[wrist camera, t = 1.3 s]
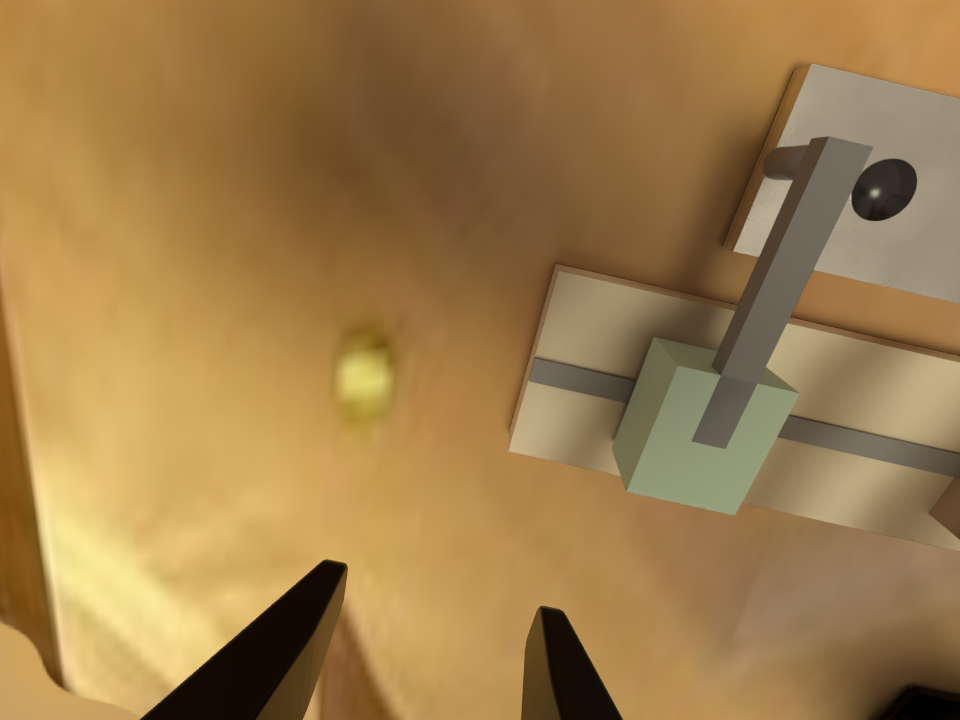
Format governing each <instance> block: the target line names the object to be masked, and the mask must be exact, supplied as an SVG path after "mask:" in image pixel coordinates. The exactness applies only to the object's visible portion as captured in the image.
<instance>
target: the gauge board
mask: <svg viewBox="0 0 960 720" xmlns="http://www.w3.org/2000/svg"><path fill="white" fill-rule="evenodd" d="M737 306H738V305H735V304H730V303H726V302H721V301H717V300H713V299H708V298H704V297H700V296H695V295H691V294H687V293H682V292H678V291H674V290H669V289H665V288H661V287H656V286H652V285H647V284H643V283H639V282H634V281H630V280H626V279H621V278H617V277H613V276H608V275H604V274H600V273H595V272H591V271H587V270H582V269H578V268H573V267H569V266H565V265H560V264H555V268H554V271H553V275H552V278H551V282H550V286H549V289H548V293H547V296H546V300H545V304H544V307H543V311H542V315H541V318H540V322H539V325H538V329H537V333H536V336H535V340H534V344H533V347H532V351H531V354H530V358H529V362H528V365H527V369H526V373H525V376H524V380H523V383H522V387H521V391H520V394H519V398H518V401H517V405H516V409H515V412H514V416H513V420H512V423H511V427H510V430H509V443H508V451H510V452H514V453H519V454H523V455H528V456H532V457H537V458H541V459H546V460H550V461H555V462H559V463H564V464H568V465H573V466H577V467H582V468H586V469H591V470H595V471H600V472H604V473H609V474H613V475H618V476H621V475H620V472H619V469H618V466H617V463H616V460H615V458H614V455H613V452H612V449H611V448H612V446H613V443H614V441H615V438H616V435H617V433H618V430H619V427H620V425H621V422H622V419H623V417H624V414H625V412H626V409H627V406H628V404H629V401H630V398H631V396H632V393H633V390H634V388H635V385H636V383H637V380H638V377H639V375H640V372H641V369H642V367H643V364H644V362H645V359H646V356H647V354H648V351H649V348H650V346H651V343H652V340H653V338H654V337H657V338H661V339H666V340H670V341H674V342H679V343H683V344H687V345H692V346H696V347H701V348H705V349H709V350H714V351H718V349H719V347H720V345H721V342H722V340H723V338H724V336H725V333H726V331H727V329H728V326H729V324H730V322H731V320H732V317H733V315H734V313H735V311H736V308H737ZM766 367H767V368H768V369H769V370H771V371H772V372H773V373H775V374H776V375H777V376H778V377H780V378H781V379H782V380H784V381H785V382H786V383H787V384H789V385H790V386H791V387H793V388H794V389H795V390H796V391H798V392H799V393H800V395H799V396H798V398H797V400H796V402H795V404H794V406H793V408H792V410H791V411H790V413H789V415H788V417H787V419H786V421H785V423H784V425H783V426H782V428H781V430H780V432H779V434H778V436H777V438H776V440H775V441H774V443H773V445H772V447H771V449H770V451H769V453H768V455H767V456H766V458H765V460H764V462H763V464H762V466H761V468H760V470H759V471H758V473H757V475H756V477H755V479H754V481H753V483H752V485H751V486H750V488H749V490H748V492H747V494H746V496H745V498H744V500H743V501H742V503H743V504H748V505H752V506H757V507H761V508H766V509H770V510H775V511H779V512H784V513H788V514H793V515H797V516H802V517H806V518H811V519H815V520H820V521H824V522H829V523H833V524H838V525H842V526H847V527H851V528H856V529H860V530H865V531H869V532H874V533H878V534H883V535H887V536H892V537H896V538H901V539H905V540H910V541H914V542H919V543H923V544H928V545H932V546H937V547H941V548H946V549H950V550H955V551H959V552H960V356H957V355H952V354H948V353H944V352H939V351H935V350H930V349H926V348H922V347H917V346H913V345H909V344H904V343H900V342H896V341H891V340H887V339H883V338H878V337H874V336H870V335H865V334H861V333H856V332H852V331H848V330H843V329H839V328H835V327H830V326H826V325H822V324H817V323H813V322H809V321H804V320H800V319H796V318H791V317H790V319H789V321H788V323H787V325H786V327H785V329H784V331H783V333H782V335H781V337H780V339H779V341H778V343H777V345H776V347H775V349H774V351H773V353H772V355H771V357H770V359H769V361H768V363H767V365H766Z"/></svg>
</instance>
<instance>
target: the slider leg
mask: <svg viewBox="0 0 960 720" xmlns="http://www.w3.org/2000/svg"><path fill="white" fill-rule="evenodd" d="M872 149H873V147H872V146H868V145H864V144H860V143H855V142H851V141H847V140H843V139H838V138H834V137H830V136H828V137H819V138H811V140H810V143H809V145H799V146H787V147H779V148H776V149H774V150H772V151H771V152H770V153H769V154H768V155H767V156H766V158H765V160H764V162H763V172H764V174H765V175H766V177H768V178H769V179H772V180H789V181H792V183H791V186H790V188H789V190H788V193H787V195H786V197H785V199H784V202H783V204H782V206H781V208H780V211H779V213H778V215H777V217H776V220H775V222H774V224H773V227H772V229H771V231H770V233H769V236H768V238H767V240H766V242H765V245H764V247H763V249H762V252H761V254H760V256H759V258H758V261H757V263H756V265H755V267H754V270H753V272H752V274H751V277H750V279H749V281H748V283H747V286H746V288H745V290H744V292H743V295H742V297H741V299H740V301H739V304H738V306H737V308H736V311H735V313H734V315H733V317H732V320H731V322H730V324H729V326H728V329H727V331H726V333H725V336H724V338H723V340H722V342H721V345H720V347H719V349H718V351H714V350H709V349H705V348H701V347H696V346H692V345H687V344H683V343H679V342H674V341H670V340H666V339H661V338H657V337H654V338H653V340H652V343H651V346H650V348H649V351H648V354H647V356H646V359H645V362H644V364H643V367H642V369H641V372H640V375H639V377H638V380H637V383H636V385H635V388H634V390H633V393H632V396H631V398H630V401H629V404H628V406H627V409H626V412H625V414H624V417H623V419H622V422H621V425H620V427H619V430H618V433H617V435H616V438H615V441H614V443H613V446H612V448H611V449H612V452H613V455H614V458H615V460H616V463H617V466H618V469H619V472H620V475H621V478H622V481H623V483H624V486H625V489H626V492H630V493H635V494H639V495H644V496H648V497H653V498H657V499H662V500H666V501H671V502H675V503H680V504H684V505H689V506H693V507H698V508H702V509H707V510H711V511H716V512H720V513H725V514H729V515H734V516H735V515H736V513H737V511H738V509H739V507H740V505H741V503H742V501H743V500H744V498H745V496H746V494H747V492H748V490H749V488H750V486H751V485H752V483H753V481H754V479H755V477H756V475H757V473H758V471H759V470H760V468H761V466H762V464H763V462H764V460H765V458H766V456H767V455H768V453H769V451H770V449H771V447H772V445H773V443H774V441H775V440H776V438H777V436H778V434H779V432H780V430H781V428H782V426H783V425H784V423H785V421H786V419H787V417H788V415H789V413H790V411H791V410H792V408H793V406H794V404H795V402H796V400H797V398H798V396H799V395H800V393H799V392H798V391H796V390H795V389H794V388H793V387H791V386H790V385H789V384H787V383H786V382H785V381H784V380H782V379H781V378H780V377H778V376H777V375H776V374H775V373H773V372H772V371H771V370H769V369H768V368H767V367H766V365H767V363H768V361H769V359H770V357H771V355H772V353H773V351H774V349H775V347H776V345H777V343H778V341H779V339H780V337H781V335H782V333H783V331H784V329H785V327H786V325H787V323H788V321H789V319H790V316H791V314H792V312H793V310H794V308H795V306H796V304H797V302H798V300H799V298H800V296H801V294H802V292H803V290H804V288H805V286H806V284H807V282H808V280H809V278H810V276H811V274H812V272H813V270H814V268H815V265H816V263H817V261H818V259H819V257H820V255H821V253H822V251H823V249H824V247H825V245H826V243H827V241H828V239H829V237H830V235H831V233H832V231H833V229H834V227H835V225H836V223H837V221H838V219H839V216H840V214H841V212H842V210H843V208H844V206H845V204H846V202H847V200H848V198H849V196H850V194H851V192H852V190H853V188H854V186H855V184H856V182H857V180H858V178H859V176H860V174H861V172H862V170H863V167H864V165H865V163H866V161H867V159H868V157H869V155H870V153H871V151H872Z"/></svg>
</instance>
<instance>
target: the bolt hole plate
mask: <svg viewBox="0 0 960 720" xmlns="http://www.w3.org/2000/svg"><path fill="white" fill-rule="evenodd" d="M828 136H830V137H834V138H838V139H843V140H847V141H851V142H855V143H860V144H864V145H868V146H872V147H873V149H872V151H871V153H870V155H869V157H868V159H867V161H866V163H865V165H864V167H863V170H862V172H861V174H860V176H859V178H858V180H857V182H856V184H855V186H854V188H853V190H852V192H851V194H850V196H849V198H848V200H847V202H846V204H845V206H844V208H843V210H842V212H841V214H840V216H839V219H838V221H837V223H836V225H835V227H834V229H833V231H832V233H831V235H830V237H829V239H828V241H827V243H826V245H825V247H824V249H823V251H822V253H821V255H820V257H819V259H818V261H817V263H816V265H815V268H814V270H816V271H820V272H824V273H829V274H833V275H837V276H842V277H846V278H850V279H855V280H859V281H863V282H868V283H872V284H876V285H881V286H885V287H889V288H894V289H898V290H902V291H906V292H911V293H915V294H919V295H924V296H928V297H932V298H937V299H941V300H945V301H950V302H954V303H958V304H960V99H959V98H955V97H951V96H947V95H943V94H938V93H934V92H930V91H926V90H922V89H918V88H913V87H909V86H905V85H901V84H897V83H892V82H888V81H884V80H880V79H876V78H872V77H867V76H863V75H859V74H855V73H851V72H846V71H842V70H838V69H834V68H830V67H826V66H821V65H817V64H813V63H811V64H808V65H806V66H803V67H800V68H797V69H795V70H794V72H793V74H792V77H791V79H790V82H789V84H788V87H787V89H786V91H785V94H784V96H783V99H782V101H781V104H780V106H779V109H778V111H777V114H776V116H775V118H774V121H773V123H772V126H771V128H770V131H769V133H768V136H767V138H766V141H765V143H764V145H763V148H762V150H761V153H760V155H759V158H758V160H757V163H756V165H755V168H754V170H753V173H752V175H751V177H750V180H749V182H748V185H747V187H746V190H745V192H744V195H743V197H742V200H741V202H740V204H739V207H738V209H737V212H736V214H735V217H734V219H733V222H732V224H731V227H730V229H729V231H728V234H727V236H726V239H725V241H724V244H723V246H722V247H723V248H725V249H728V250H731V251H734V252H738V253H742V254H747V255H751V256H755V257H759V256H760V254H761V252H762V249H763V247H764V245H765V242H766V240H767V238H768V236H769V233H770V231H771V229H772V227H773V224H774V222H775V220H776V217H777V215H778V213H779V211H780V208H781V206H782V204H783V202H784V199H785V197H786V195H787V193H788V190H789V188H790V186H791V183H792V181H789V180H772V179H769V178H768V177H766V175H765V174H764V172H763V162H764V160H765V158H766V156H767V155H768V154H769V153H770V152H771V151H772V150H774V149H776V148H779V147H787V146H799V145H809V143H810V140H811V138H819V137H828Z"/></svg>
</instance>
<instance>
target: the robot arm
mask: <svg viewBox="0 0 960 720" xmlns="http://www.w3.org/2000/svg"><path fill="white" fill-rule="evenodd" d="M347 572H348V566H347V564H345V563H342V562H338V561H333V560H327V559H326V560H323V561H322V562H321V563H319V564H318V565H317V566H316V567H315V568H314V569H312V570H311V571H310V572H309V573H308V574H307V575H306V576H304V577H303V578H302V579H301V580H300V581H299V582H297V583H296V584H295V585H294V586H293V587H292V588H291V589H289V590H288V591H287V592H286V593H285V594H284V595H283V596H281V597H280V598H279V599H278V600H277V601H276V602H274V603H273V604H272V605H271V606H270V607H269V608H268V609H266V610H265V611H264V612H263V613H262V614H261V615H260V616H258V617H257V618H256V619H255V620H254V621H253V622H251V623H250V624H249V625H248V626H247V627H246V628H245V629H243V630H242V631H241V632H240V633H239V634H238V635H237V636H235V637H234V638H233V639H232V640H231V641H230V642H228V643H227V644H226V645H225V646H224V647H223V648H222V649H220V650H219V651H218V652H217V653H216V654H215V655H213V656H212V657H211V658H210V659H209V660H208V661H207V662H205V663H204V664H203V665H202V666H201V667H200V668H199V669H197V670H196V671H195V672H194V673H193V674H192V675H190V676H189V677H188V678H187V679H186V680H185V681H184V682H182V683H181V684H180V685H179V686H178V687H177V688H176V689H174V690H173V691H172V692H171V693H170V694H169V695H167V696H166V697H165V698H164V699H163V700H162V701H161V702H159V703H158V704H157V705H156V706H155V707H154V708H153V709H151V710H150V711H149V712H148V713H147V714H146V715H144V716H143V717H142V718H141V719H140V720H303V718H304V715H305V713H306V711H307V708H308V705H309V703H310V700H311V697H312V695H313V692H314V689H315V686H316V683H317V680H318V677H319V674H320V671H321V668H322V665H323V662H324V659H325V656H326V653H327V650H328V647H329V644H330V641H331V638H332V635H333V632H334V629H335V626H336V623H337V620H338V617H339V614H340V611H341V608H342V604H343V600H344V594H345V587H346V580H347ZM521 720H623V719H622V717H621V715H620V713H619V711H618V710H617V708H616V706H615V704H614V702H613V700H612V699H611V697H610V695H609V693H608V691H607V689H606V688H605V686H604V684H603V682H602V680H601V678H600V677H599V675H598V673H597V671H596V669H595V668H594V666H593V664H592V662H591V660H590V658H589V657H588V655H587V653H586V651H585V649H584V647H583V646H582V644H581V642H580V640H579V638H578V636H577V635H576V633H575V631H574V629H573V627H572V625H571V624H570V622H569V620H568V618H567V616H566V615H565V613H564V612H563V611H562V610H560V609H556V608H551V607H547V606H540V607H539V608H538V610H537V612H536V615H535V618H534V620H533V623H532V626H531V629H530V631H529V634H528V637H527V641H526V647H525V660H524V678H523V696H522V714H521ZM880 720H960V696H958V695H954V694H949V693H944V692H940V691H935V690H930V689H926V688H921V687H911V688H908V689H907V690H905V691H904V693H903V694H902V695H901V696H900V697H899V698H898V699H897V701H896V702H895V703H894V704H893V705H892V706H891V708H890V709H889V710H888V711H887V712H886V713H885V715H884V716H883V717H882V718H881V719H880Z"/></svg>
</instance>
